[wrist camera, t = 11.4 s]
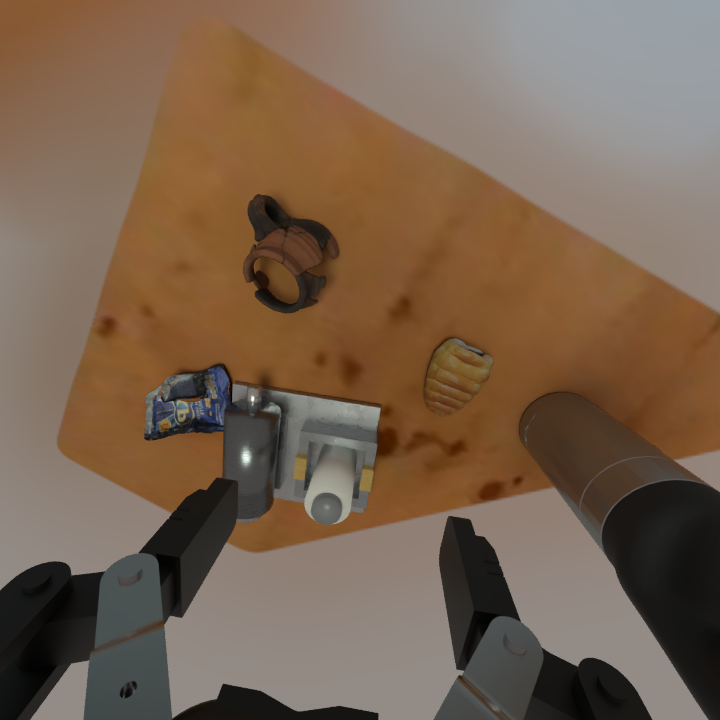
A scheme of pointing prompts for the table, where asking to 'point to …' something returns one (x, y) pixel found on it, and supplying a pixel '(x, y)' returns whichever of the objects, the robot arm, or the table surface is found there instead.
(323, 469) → the white cylinder roll
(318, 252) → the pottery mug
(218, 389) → the snack package
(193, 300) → the table surface
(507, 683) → the robot arm
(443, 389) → the pastry
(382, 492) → the table surface
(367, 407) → the motor unit
